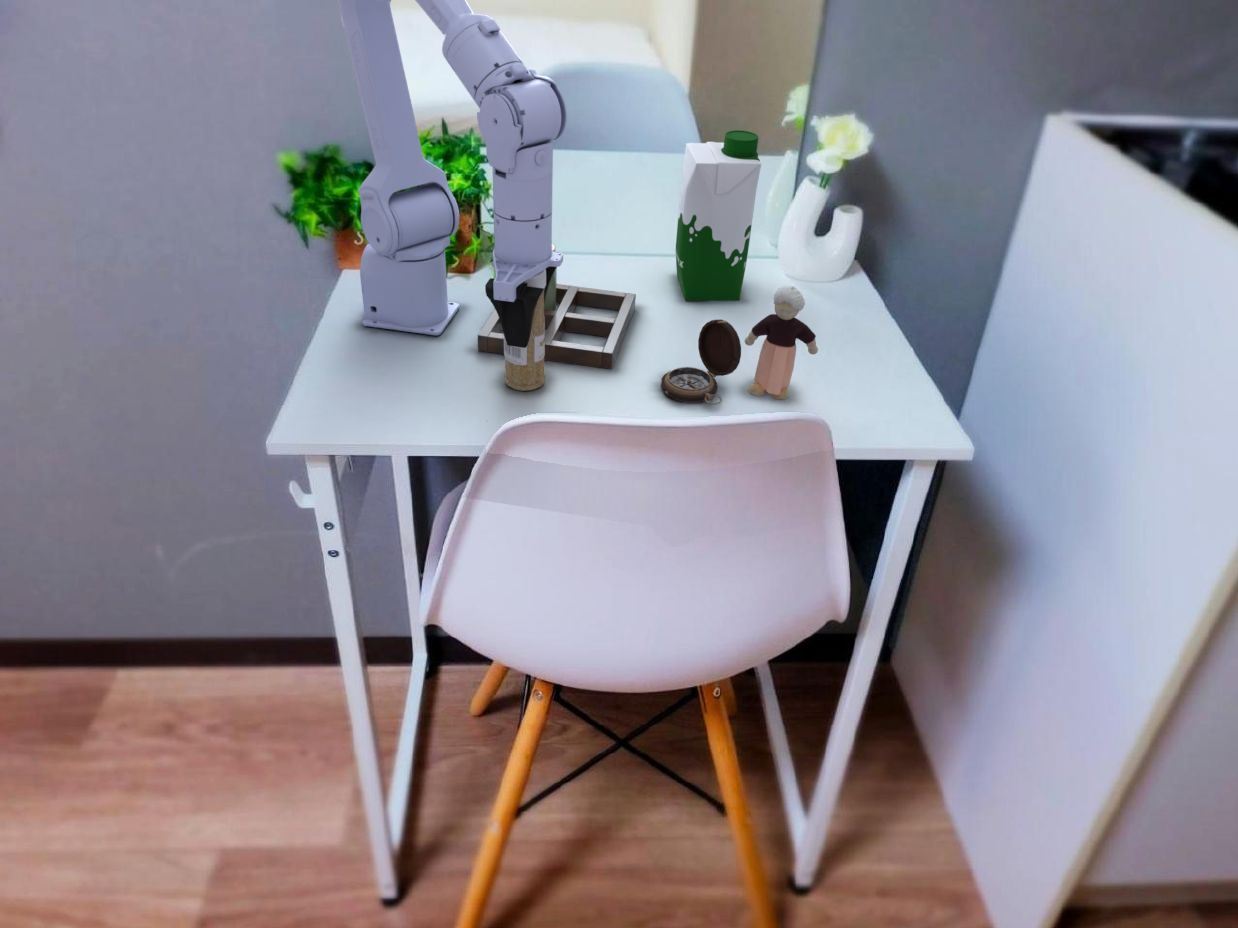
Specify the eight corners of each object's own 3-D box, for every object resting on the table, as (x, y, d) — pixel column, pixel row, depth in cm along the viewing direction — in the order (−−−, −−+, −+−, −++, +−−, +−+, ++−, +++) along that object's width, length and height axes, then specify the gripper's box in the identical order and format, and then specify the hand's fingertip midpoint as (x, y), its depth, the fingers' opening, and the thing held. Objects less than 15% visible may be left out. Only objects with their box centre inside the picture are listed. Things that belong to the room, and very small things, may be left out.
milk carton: (748, 303, 126) (769, 147, 114) (678, 304, 125) (693, 146, 113) (734, 274, 133) (753, 124, 121) (668, 274, 132) (680, 123, 120)
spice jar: (516, 317, 119) (515, 251, 115) (525, 301, 123) (525, 237, 118) (551, 322, 119) (552, 256, 114) (559, 306, 123) (560, 241, 118)
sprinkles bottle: (553, 386, 107) (554, 271, 99) (516, 396, 105) (514, 280, 97) (532, 367, 110) (532, 255, 102) (496, 377, 108) (492, 263, 100)
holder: (477, 350, 112) (477, 335, 111) (514, 292, 125) (514, 278, 124) (611, 369, 110) (612, 353, 109) (635, 308, 123) (636, 293, 122)
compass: (648, 385, 108) (653, 326, 104) (703, 366, 112) (710, 308, 108) (695, 418, 103) (702, 358, 99) (750, 398, 107) (759, 338, 103)
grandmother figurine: (739, 399, 107) (755, 292, 99) (738, 380, 110) (752, 276, 102) (810, 404, 107) (831, 297, 99) (806, 385, 110) (826, 281, 102)
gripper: (544, 244, 90) (543, 372, 98) (578, 189, 101) (575, 308, 109) (470, 234, 91) (475, 363, 98) (512, 182, 102) (513, 300, 110)
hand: (523, 334), depth 104 cm, fingers closed on sprinkles bottle, 4 cm apart
